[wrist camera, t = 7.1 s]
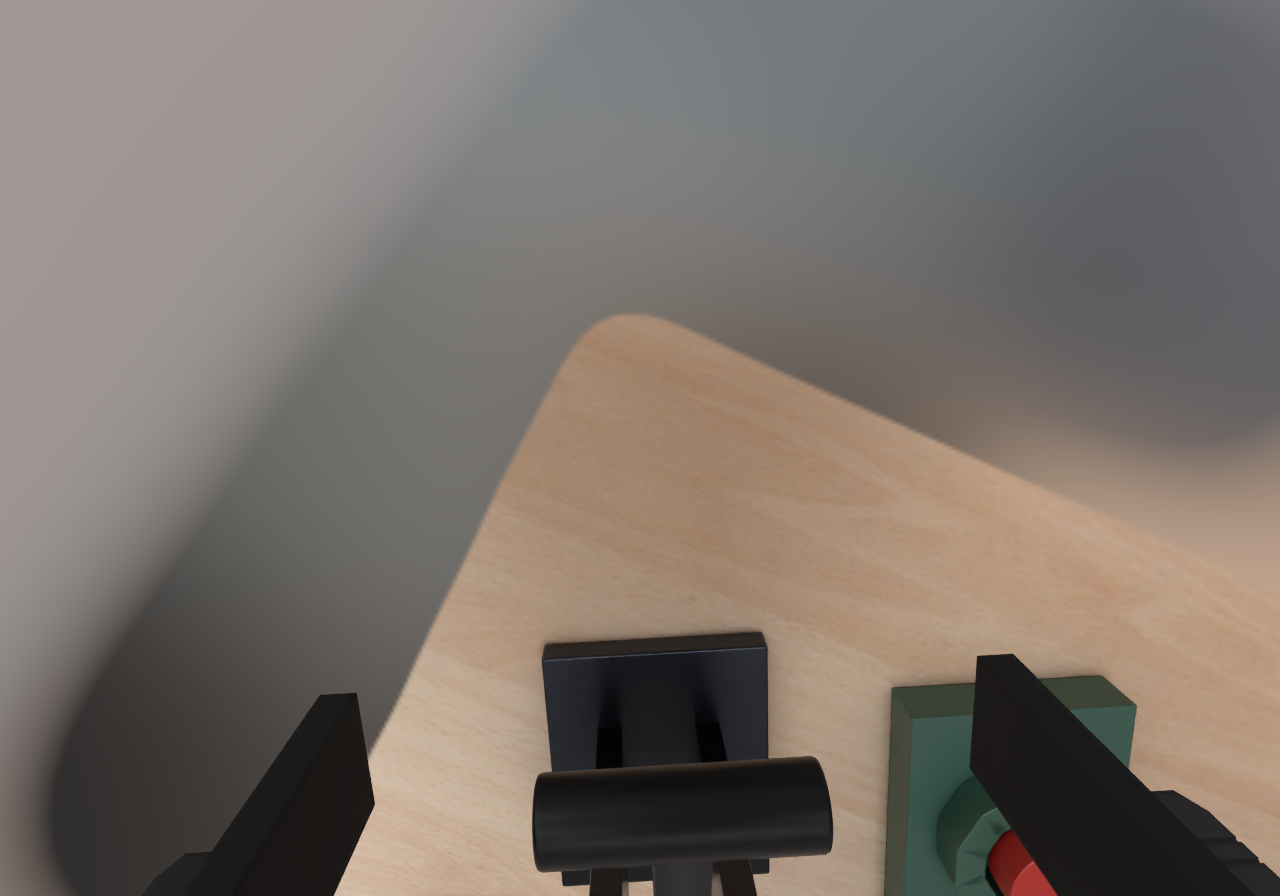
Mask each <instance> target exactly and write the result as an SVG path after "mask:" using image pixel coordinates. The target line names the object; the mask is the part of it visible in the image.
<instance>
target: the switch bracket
mask: <svg viewBox="0 0 1280 896" xmlns="http://www.w3.org/2000/svg"><path fill="white" fill-rule="evenodd" d="M542 669H543V680H544V691H545V701H546V712H547V723H548V734H549V744H550V755H551V766H552V772H561V771H577V770H593V769H610V768H626V767H642V766H658V765H675V764H691V763H707V762H724V761H740V760H756V759H768V648H767V644H766V642H765V639H764V636H763V634H762V633H761V632H757V633H740V634H723V635H706V636H689V637H672V638H655V639H638V640H621V641H604V642H587V643H570V644H553V645H545V647H544V651H543V656H542ZM561 873H562V884H563V886H577V885H590V892H589V896H629V887H628V882H640V881H653V874H652V866H638V867H622V868H607V869H591V870H575V871H561ZM767 873H769V858H765V859H749V860H733V861H717V862H713V879H712V896H757V893H756V888H755V884H754V879H753V874H767Z"/></svg>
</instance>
